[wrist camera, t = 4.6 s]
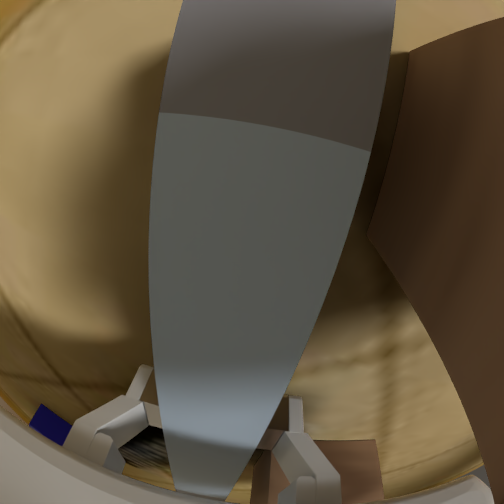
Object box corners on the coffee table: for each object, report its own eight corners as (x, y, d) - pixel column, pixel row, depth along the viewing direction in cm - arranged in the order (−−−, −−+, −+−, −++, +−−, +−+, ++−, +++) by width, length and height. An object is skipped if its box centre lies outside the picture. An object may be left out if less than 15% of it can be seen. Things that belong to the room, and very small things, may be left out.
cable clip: (42, 402, 18) (16, 446, 12) (80, 429, 19) (58, 475, 13) (40, 425, 22) (23, 457, 17) (68, 445, 23) (53, 478, 18)
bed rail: (343, 41, 6) (396, -17, 2) (228, 460, 16) (221, 505, 13) (235, 21, 6) (200, -52, 2) (188, 452, 16) (177, 497, 13)
